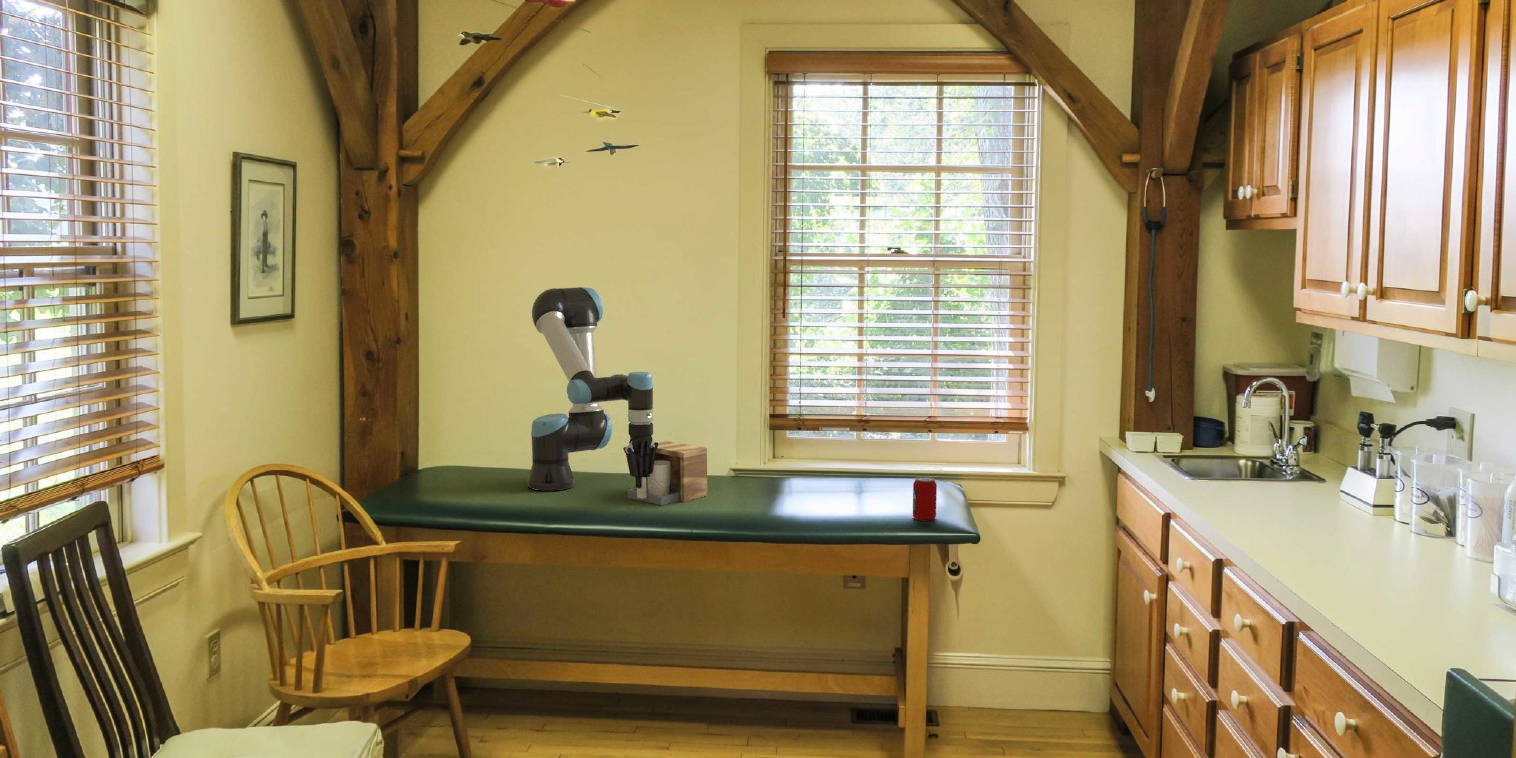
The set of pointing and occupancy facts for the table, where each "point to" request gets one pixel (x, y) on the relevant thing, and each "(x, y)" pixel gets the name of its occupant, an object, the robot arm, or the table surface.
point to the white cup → (660, 478)
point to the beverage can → (924, 498)
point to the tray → (660, 500)
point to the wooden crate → (685, 467)
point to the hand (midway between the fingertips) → (641, 497)
